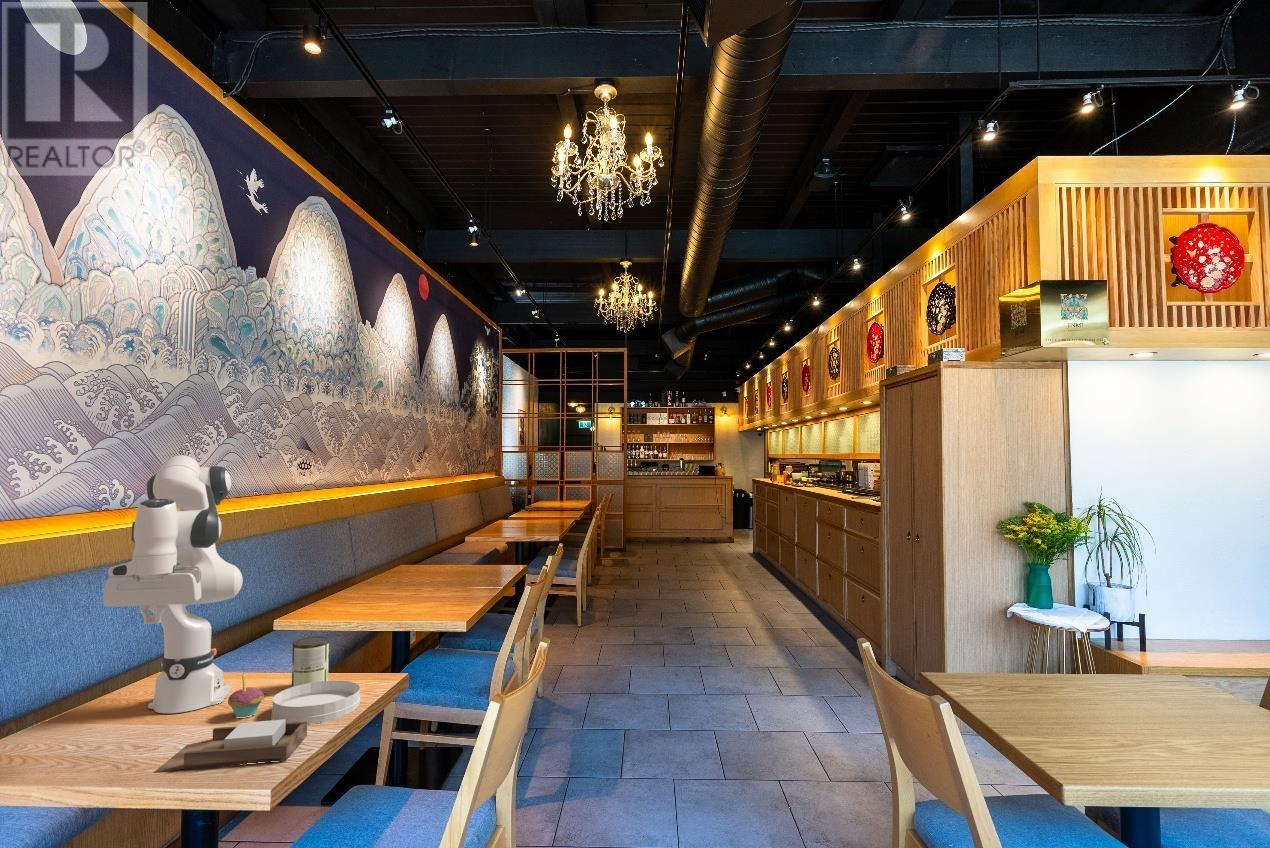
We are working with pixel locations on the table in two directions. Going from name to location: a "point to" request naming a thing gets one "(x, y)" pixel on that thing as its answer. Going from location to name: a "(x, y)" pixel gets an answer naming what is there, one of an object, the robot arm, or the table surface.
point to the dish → (316, 701)
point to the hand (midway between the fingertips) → (152, 623)
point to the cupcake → (245, 700)
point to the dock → (234, 750)
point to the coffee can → (310, 660)
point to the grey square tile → (256, 734)
